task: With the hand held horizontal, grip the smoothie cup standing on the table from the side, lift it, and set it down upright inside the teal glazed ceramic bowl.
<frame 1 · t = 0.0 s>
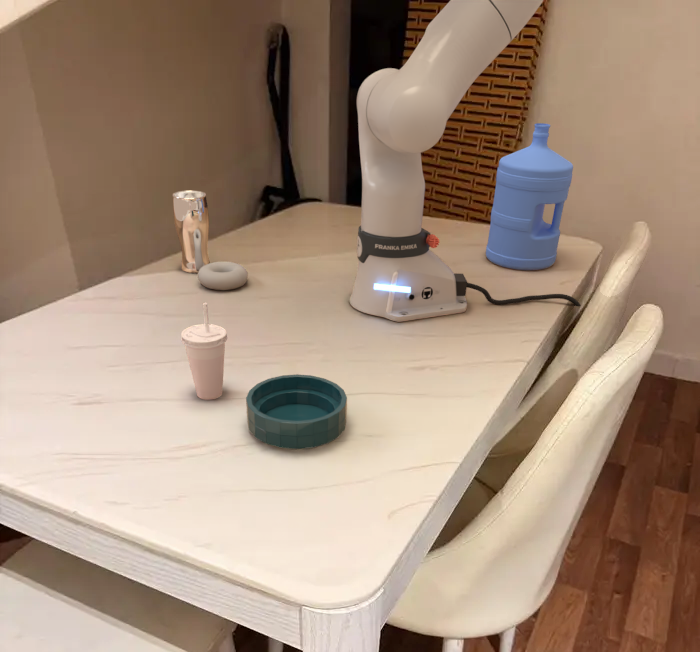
bowl: (297, 426, 96), on the table
water jug: (519, 260, 159), on the table
donut: (223, 284, 141), on the table
smoothie: (209, 394, 103), on the table
beer glass: (196, 269, 148), on the table
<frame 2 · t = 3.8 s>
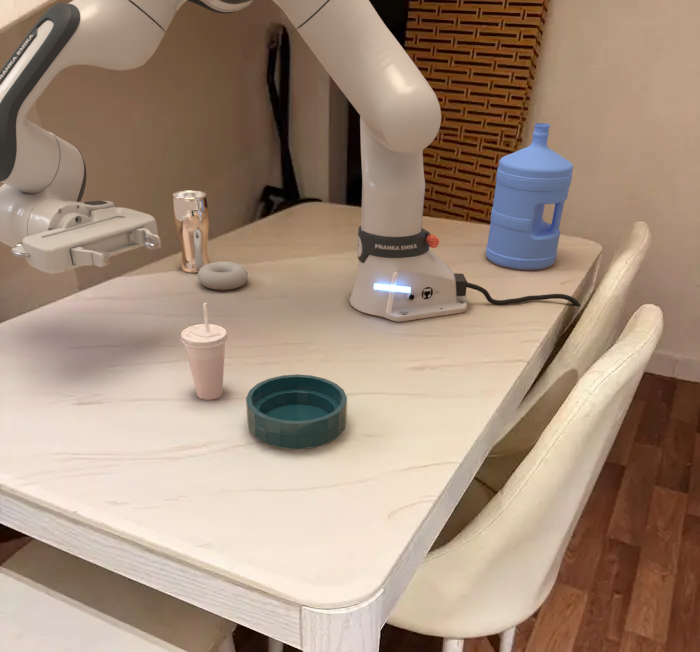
hand: (132, 251, 98), 19 cm above the table, tool horizontal, fingers open, 8 cm apart
nothing on the table moved.
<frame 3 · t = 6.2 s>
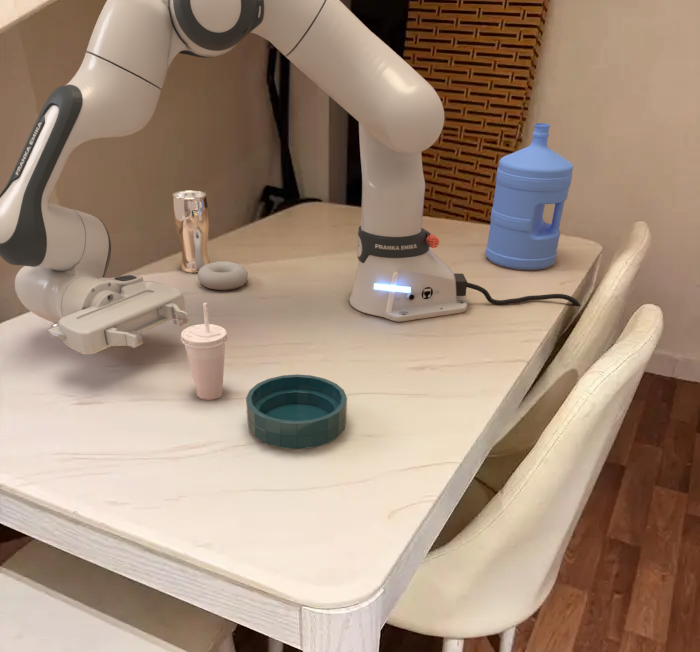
hand: (163, 330, 102), 8 cm above the table, tool horizontal, fingers open, 8 cm apart
nothing on the table moved.
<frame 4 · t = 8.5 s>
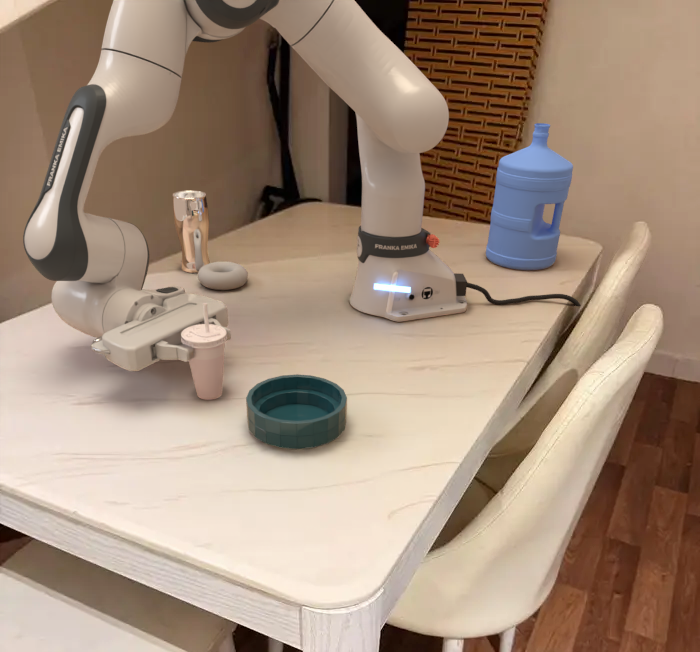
hand: (209, 345, 98), 8 cm above the table, tool horizontal, fingers closed on smoothie, 6 cm apart
smoothie: (209, 394, 103), on the table, touching gripper
everything else where it was.
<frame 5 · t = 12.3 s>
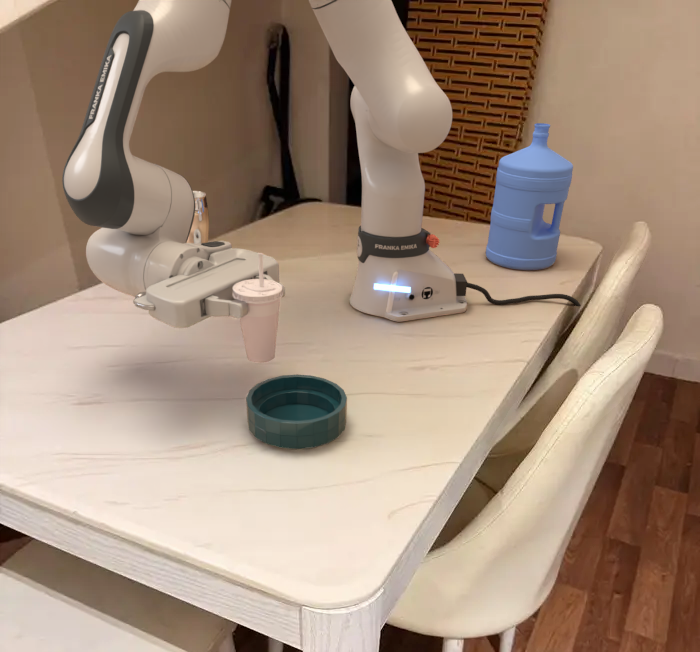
hand: (263, 301, 89), 17 cm above the table, tool horizontal, fingers closed on smoothie, 6 cm apart
smoothie: (260, 358, 94), point 9 cm above the table, touching gripper
everything else where it was.
when the fingers open (9 cm above the table, at t = 16.1 s): smoothie stays where it is, resting on bowl.
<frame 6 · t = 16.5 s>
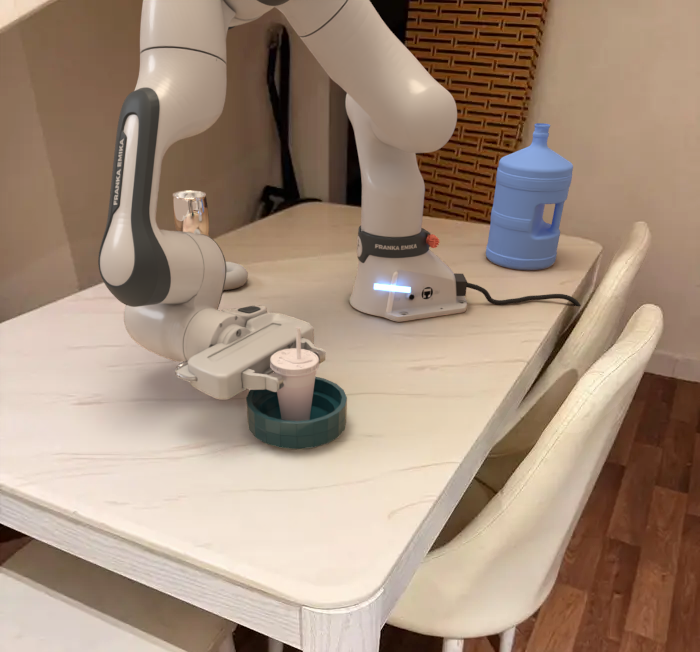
hand: (302, 370, 91), 9 cm above the table, tool horizontal, fingers open, 8 cm apart
smoothie: (295, 423, 96), resting on bowl
everything else where it was.
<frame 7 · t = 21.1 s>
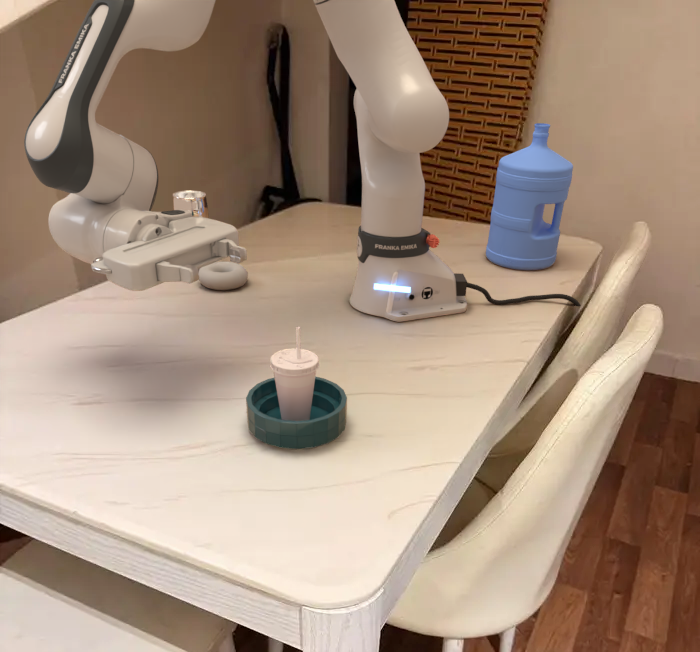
hand: (220, 265, 90), 20 cm above the table, tool horizontal, fingers open, 8 cm apart
nothing on the table moved.
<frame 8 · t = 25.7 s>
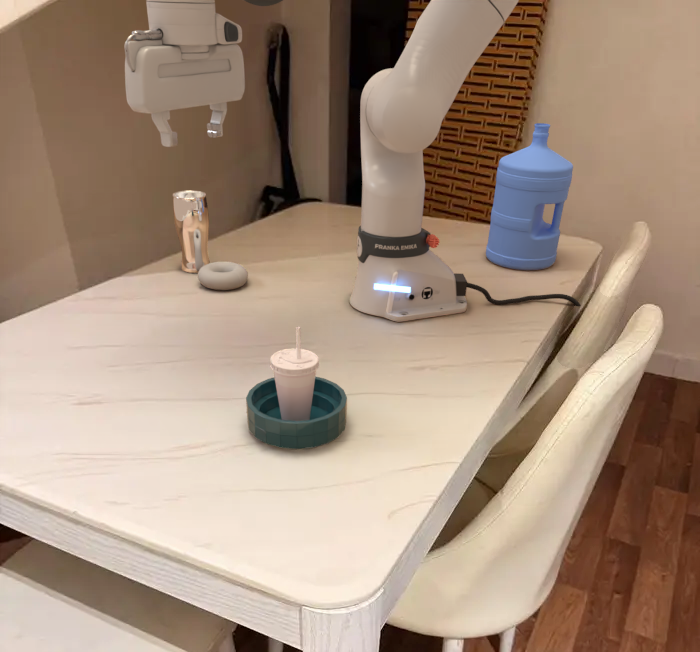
hand: (193, 141, 101), 31 cm above the table, tool pointing down, fingers open, 8 cm apart
nothing on the table moved.
at the end: smoothie inside the target area in the bowl (0.2 cm from its centre), point 0.4 cm above the bowl's base; smoothie tilted 0°; the gripper is holding nothing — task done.
